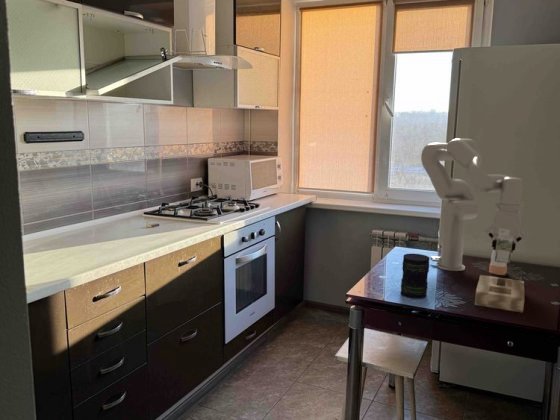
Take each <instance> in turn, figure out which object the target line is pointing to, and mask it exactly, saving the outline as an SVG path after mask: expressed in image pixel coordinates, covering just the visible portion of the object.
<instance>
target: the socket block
mask: <svg viewBox="0 0 560 420" xmlns="http://www.w3.org/2000/svg"><path fill="white" fill-rule="evenodd" d="M478 279H479V280H478V282H477V286H476V289H475V297H474V298H475V299H474V306H479V307H480V306H481V307H487V308H492V309H500V310H504V311H511V312H517V313H522V314H523V313H524V307H525V281H524V280H519V279H511V278H504V277H497V276H491V275H484V274H483V275H482V274H480V275H479V278H478Z"/></svg>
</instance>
